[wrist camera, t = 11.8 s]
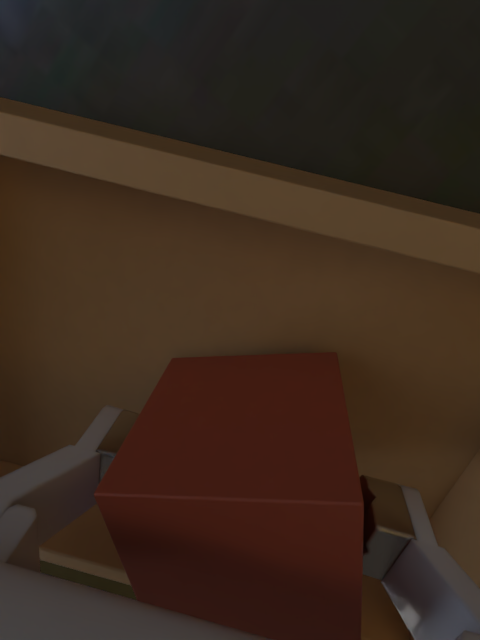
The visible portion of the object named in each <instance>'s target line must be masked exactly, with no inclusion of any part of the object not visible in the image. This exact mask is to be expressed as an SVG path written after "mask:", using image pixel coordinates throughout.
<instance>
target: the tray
mask: <svg viewBox="0 0 480 640" xmlns="http://www.w3.org/2000/svg"><path fill="white" fill-rule="evenodd" d="M323 352H336V353H337V355H338V361H339V366H340V372H341V378H342V383H343V389H344V394H345V400H346V406H347V411H348V417H349V422H350V428H351V434H352V439H353V445H354V450H355V456H356V462H357V467H358V473H359V477H360V476H361V475H365V476H369V477H373V478H377V479H381V480H385V481H388V482H392V483H396V484H400V485H404V486H408V487H411V488H415V489H417V490H418V491H419V492H420V495H421V498H422V501H423V504H424V506H425V509H426V512H427V515H428V518H429V521H430V524H431V526H432V529H433V532H434V535H435V538H436V541H437V544H438V546H439V547H442V548H445V550H446V551H447V552H448V553H449V554H450V555H451V556H452V558H453V559H454V560H455V561H456V562H457V563H458V564H459V566H460V567H461V568H462V569H463V570H464V571H465V572H466V574H467V575H468V576H469V577H470V578H471V579H472V580H473V582H474V583H475V584H476V585H477V586H478V587H479V588H480V214H479V213H474V212H470V211H466V210H462V209H458V208H454V207H450V206H446V205H442V204H437V203H433V202H429V201H425V200H421V199H417V198H413V197H409V196H405V195H400V194H396V193H392V192H388V191H384V190H380V189H376V188H372V187H368V186H363V185H359V184H355V183H351V182H347V181H343V180H339V179H335V178H331V177H326V176H322V175H318V174H314V173H310V172H306V171H302V170H298V169H294V168H290V167H285V166H281V165H277V164H273V163H269V162H265V161H261V160H257V159H253V158H248V157H244V156H240V155H236V154H232V153H228V152H224V151H220V150H216V149H211V148H207V147H203V146H199V145H195V144H191V143H187V142H183V141H179V140H174V139H170V138H166V137H162V136H158V135H154V134H150V133H146V132H142V131H137V130H133V129H129V128H125V127H121V126H117V125H113V124H109V123H105V122H100V121H96V120H92V119H88V118H84V117H80V116H76V115H72V114H68V113H64V112H59V111H55V110H51V109H47V108H43V107H39V106H35V105H31V104H27V103H22V102H18V101H14V100H10V99H6V98H2V97H0V477H2V476H4V475H6V474H9V473H11V472H13V471H15V470H17V469H19V468H21V467H23V466H25V465H28V464H30V463H32V462H34V461H36V460H38V459H40V458H42V457H44V456H47V455H49V454H51V453H53V452H55V451H57V450H59V449H61V448H64V447H66V446H68V445H73V446H75V445H76V444H77V442H78V441H79V440H80V438H81V437H82V435H83V434H84V433H85V431H86V430H87V429H88V427H89V426H90V425H91V423H92V422H93V420H94V419H95V418H96V416H97V415H98V414H99V412H100V411H101V410H102V408H103V407H105V406H106V405H110V406H113V407H117V408H120V409H123V410H124V409H125V410H128V411H131V412H135V413H138V414H140V412H141V411H142V409H143V407H144V406H145V404H146V402H147V400H148V399H149V397H150V395H151V393H152V392H153V390H154V388H155V387H156V385H157V383H158V381H159V380H160V378H161V376H162V374H163V373H164V371H165V369H166V368H167V366H168V364H169V362H170V361H171V359H172V358H182V357H210V356H238V355H266V354H295V353H323ZM39 556H40V560H43V561H46V562H50V563H53V564H57V565H61V566H64V567H68V568H71V569H75V570H78V571H82V572H85V573H89V574H92V575H96V576H100V577H103V578H107V579H110V580H114V581H117V582H121V583H124V584H128V585H131V584H130V581H129V579H128V577H127V574H126V572H125V569H124V567H123V565H122V562H121V560H120V557H119V555H118V553H117V550H116V548H115V545H114V543H113V541H112V538H111V536H110V533H109V531H108V529H107V526H106V524H105V521H104V519H103V517H102V514H101V512H100V510H99V507H98V505H97V504H95V505H94V506H93V507H91V508H90V509H89V510H87V511H86V512H85V513H83V514H82V515H81V516H79V517H78V518H76V519H75V520H74V521H72V522H71V523H70V524H68V525H67V526H66V527H64V528H63V529H62V530H60V531H59V532H58V533H56V534H55V535H54V536H52V537H51V538H50V539H48V540H47V541H46V542H44V543H43V544H42V545H40V546H39ZM381 581H382V580H379V579H376V578H372V577H369V576H366V575H363V574H362V618H361V640H414V638H413V637H412V635H411V633H410V631H409V630H408V628H407V626H406V624H405V623H404V621H403V619H402V618H401V616H400V614H399V612H398V611H397V609H396V607H395V605H394V604H393V602H392V600H391V598H390V597H389V595H388V593H387V591H386V590H385V588H384V586H383V584H382V583H381Z"/></svg>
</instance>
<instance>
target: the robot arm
mask: <svg viewBox="0 0 480 640" xmlns="http://www.w3.org/2000/svg"><path fill="white" fill-rule="evenodd" d="M138 416H139V414H138V413H135V412H131V411H128V410H125V409H124V410H123V409H120V408H117V407H113V406H110V405H106V406H105V407H103V408H102V410H101V411H100V412H99V414H98V415H97V416H96V418H95V419H94V420H93V422H92V423H91V425H90V426H89V427H88V429H87V430H86V431H85V433H84V434H83V435H82V437H81V438H80V440H79V441H78V442H77V444H76V445H75V446H73V445H68V446H66V447H64V448H61V449H59V450H57V451H55V452H53V453H51V454H49V455H47V456H44V457H42V458H40V459H38V460H36V461H34V462H32V463H30V464H28V465H25V466H23V467H21V468H19V469H17V470H15V471H13V472H11V473H9V474H6V475H4V476H2V477H0V640H273V639H270V638H266V637H263V636H259V635H256V634H252V633H249V632H245V631H242V630H238V629H235V628H231V627H228V626H224V625H221V624H217V623H214V622H210V621H207V620H203V619H200V618H196V617H193V616H189V615H186V614H182V613H179V612H176V611H172V610H169V609H165V608H162V607H158V606H155V605H151V604H148V603H144V602H141V601H137V600H134V599H130V598H127V597H123V596H120V595H116V594H113V593H109V592H106V591H102V590H99V589H95V588H92V587H89V586H85V585H82V584H78V583H75V582H71V581H68V580H64V579H61V578H57V577H54V576H50V575H47V574H43V573H40V556H39V546H40V545H42V544H43V543H44V542H46V541H47V540H48V539H50V538H51V537H52V536H54V535H55V534H56V533H58V532H59V531H60V530H62V529H63V528H64V527H66V526H67V525H68V524H70V523H71V522H72V521H74V520H75V519H76V518H78V517H79V516H81V515H82V514H83V513H85V512H86V511H87V510H89V509H90V508H91V507H93V506H94V505H95V504H97V502H96V500H95V498H94V492H95V490H96V489H97V487H98V485H99V483H100V482H101V480H102V478H103V476H104V475H105V473H106V471H107V470H108V468H109V466H110V464H111V463H112V461H113V459H114V457H115V456H116V454H117V452H118V451H119V449H120V447H121V445H122V444H123V442H124V440H125V438H126V437H127V435H128V433H129V432H130V430H131V428H132V426H133V425H134V423H135V421H136V419H137V418H138ZM359 478H360V484H361V490H362V495H363V501H364V529H363V573H362V574H363V575H366V576H369V577H372V578H376V579H379V580H382V581H381V583H382V584H383V586H384V588H385V590H386V591H387V593H388V595H389V597H390V598H391V600H392V602H393V604H394V605H395V607H396V609H397V611H398V612H399V614H400V616H401V618H402V619H403V621H404V623H405V624H406V626H407V628H408V630H409V631H410V633H411V635H412V637H413V638H414V640H480V588H479V587H478V586H477V585H476V584H475V583H474V582H473V580H472V579H471V578H470V577H469V576H468V575H467V574H466V572H465V571H464V570H463V569H462V568H461V567H460V566H459V564H458V563H457V562H456V561H455V560H454V559H453V558H452V556H451V555H450V554H449V553H448V552H447V551H446V550H445V548H442V547H439V546H438V544H437V541H436V538H435V535H434V532H433V529H432V526H431V524H430V521H429V518H428V515H427V512H426V509H425V506H424V504H423V501H422V498H421V495H420V492H419V491H418V490H417V489H415V488H411V487H408V486H404V485H400V484H396V483H392V482H388V481H385V480H381V479H377V478H373V477H369V476H365V475H361V476H360V477H359Z"/></svg>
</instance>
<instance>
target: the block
mask: <svg viewBox="0 0 480 640" xmlns="http://www.w3.org/2000/svg"><path fill="white" fill-rule="evenodd" d="M94 498H95V500H96V502H97V505H98V507H99V510H100V512H101V514H102V517H103V519H104V521H105V524H106V526H107V529H108V531H109V533H110V536H111V538H112V541H113V543H114V545H115V548H116V550H117V553H118V555H119V557H120V560H121V562H122V565H123V567H124V569H125V572H126V574H127V577H128V579H129V581H130V584H131V586H132V589H133V591H134V593H135V596H136V598H137V601H141V602H144V603H148V604H151V605H155V606H158V607H162V608H165V609H169V610H172V611H176V612H179V613H182V614H186V615H189V616H193V617H196V618H200V619H203V620H207V621H210V622H214V623H217V624H221V625H224V626H228V627H231V628H235V629H238V630H242V631H245V632H249V633H252V634H256V635H259V636H263V637H266V638H270V639H273V640H361V618H362V573H363V529H364V501H363V495H362V490H361V484H360V478H359V473H358V467H357V462H356V456H355V450H354V445H353V439H352V434H351V428H350V422H349V417H348V411H347V406H346V400H345V394H344V389H343V383H342V378H341V372H340V366H339V361H338V355H337V353H336V352H323V353H295V354H266V355H238V356H210V357H182V358H172V359H171V361H170V362H169V364H168V366H167V368H166V369H165V371H164V373H163V374H162V376H161V378H160V380H159V381H158V383H157V385H156V387H155V388H154V390H153V392H152V393H151V395H150V397H149V399H148V400H147V402H146V404H145V406H144V407H143V409H142V411H141V412H140V414H139V416H138V418H137V419H136V421H135V423H134V425H133V426H132V428H131V430H130V432H129V433H128V435H127V437H126V438H125V440H124V442H123V444H122V445H121V447H120V449H119V451H118V452H117V454H116V456H115V457H114V459H113V461H112V463H111V464H110V466H109V468H108V470H107V471H106V473H105V475H104V476H103V478H102V480H101V482H100V483H99V485H98V487H97V489H96V490H95V492H94Z"/></svg>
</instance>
